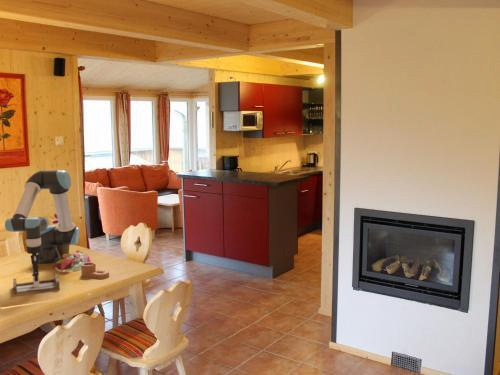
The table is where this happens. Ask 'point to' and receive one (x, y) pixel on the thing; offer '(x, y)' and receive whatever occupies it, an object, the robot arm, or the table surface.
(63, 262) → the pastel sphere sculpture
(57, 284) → the wooden window with sill
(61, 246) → the flowerpot
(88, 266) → the bracket
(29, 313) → the table surface
